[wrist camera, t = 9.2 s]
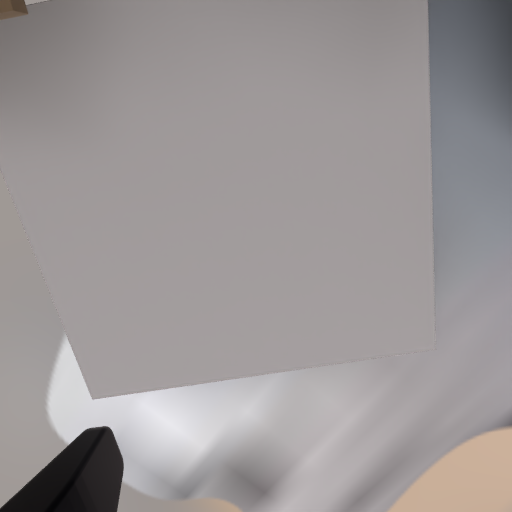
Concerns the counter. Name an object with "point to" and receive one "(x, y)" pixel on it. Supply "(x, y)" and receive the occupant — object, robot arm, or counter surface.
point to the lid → (12, 9)
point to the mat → (223, 182)
